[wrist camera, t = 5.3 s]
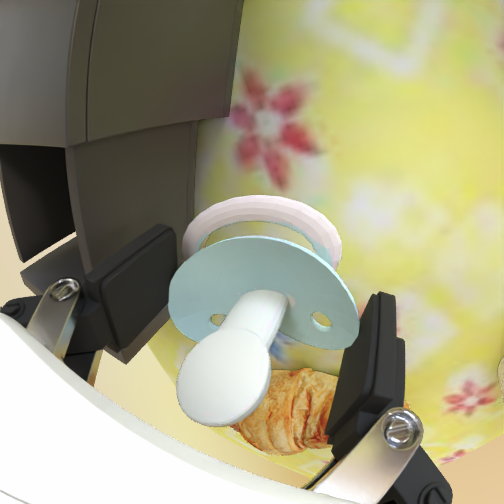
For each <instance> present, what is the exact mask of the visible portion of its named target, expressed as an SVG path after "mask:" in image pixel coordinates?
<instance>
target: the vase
mask: <svg viewBox="0 0 504 504" xmlns="http://www.w3.org/2000/svg"><path fill="white" fill-rule="evenodd" d="M497 373H498V378H499V383H500V388H501V394H502V400H503V406H504V357H503V358H502V360H501V361H500V364H499V366H498V371H497Z"/></svg>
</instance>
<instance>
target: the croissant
mask: <svg viewBox="0 0 504 504" xmlns="http://www.w3.org/2000/svg"><path fill="white" fill-rule="evenodd" d="M338 377H339V376H333V375H330V374H326V373H323V372H318V371H312V369H311V368H302V369H299V370H296V371H290V370H271V379H270V385H269V388H268V390H267V393H266V395H265V397H264V399H263V401H262V402H261V404H260V405H259V406H258V407H257V409H256V410H255V411H254V412H253V413H252V414H251V415H249V416H248V417H247V418H245V419H244V420H242V421H240V422H238V423H235V424H233V425H229V426H230V427H232V428H234V430H235V431H237V432H240V433H241V435H242V436H243V438H244V439H245V440H246V441H247V442H249V443H250V444H251V445H253V446H254V447H256V448H258V449H259V450H261V451H264V452H266V453H268V454H271V455H272V454H276V455H282V456H283V455H285V456H287V455H291V454H296V453H299V452H302V451H304V450H305V449H306V448H307V447H309V448H318V449H320V448H327V447H332V446H333V445H329V444H327V440H328V437H329V436H328V435H324V431H325V428H326V424H327V421H328V417H329V413H330V410H331V406H332V402H333V398H334V394H335V390H336V386H337V381H338ZM409 406H410V404H409V403H408V402H407V401H405V400H404V408H407V409H409V410H410V407H409Z"/></svg>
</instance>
